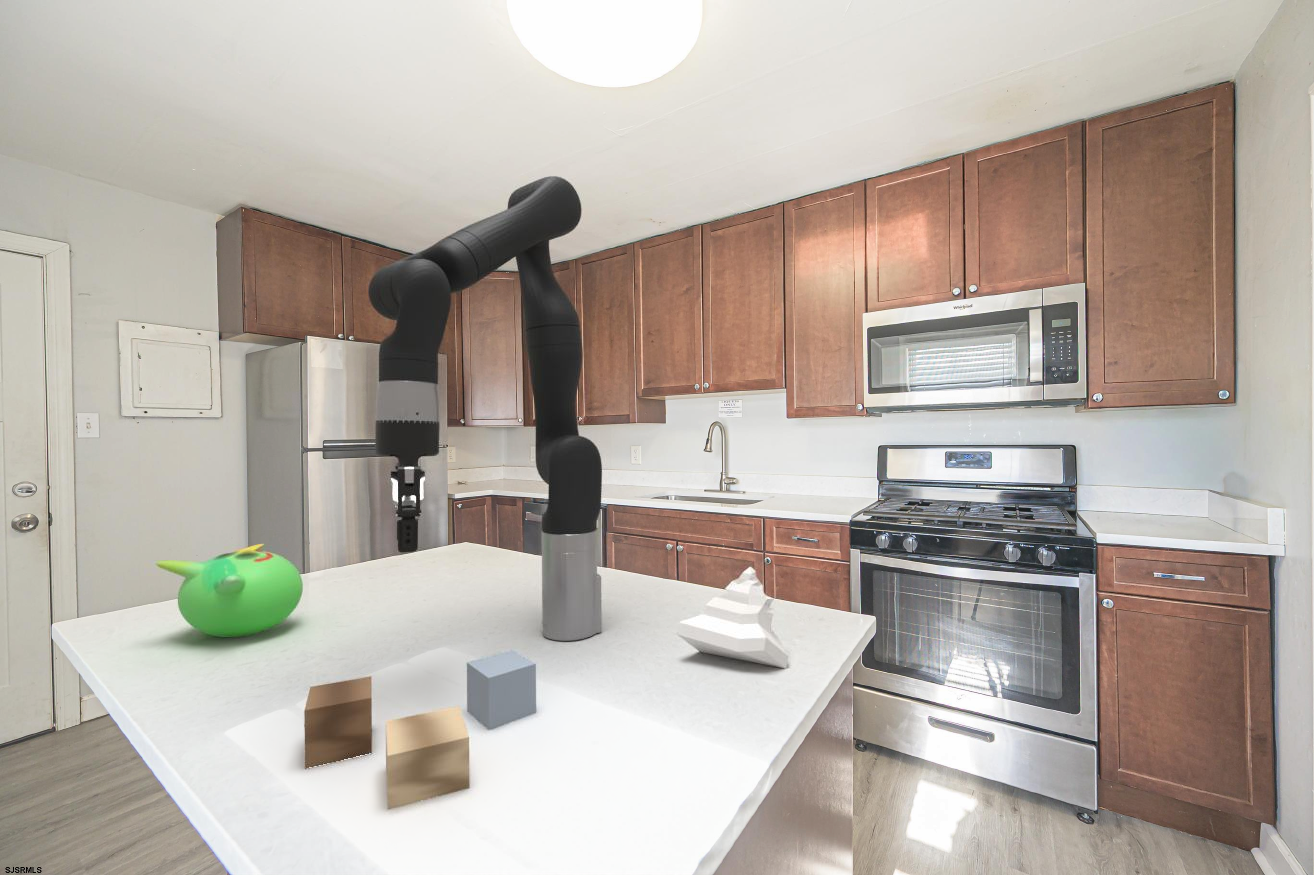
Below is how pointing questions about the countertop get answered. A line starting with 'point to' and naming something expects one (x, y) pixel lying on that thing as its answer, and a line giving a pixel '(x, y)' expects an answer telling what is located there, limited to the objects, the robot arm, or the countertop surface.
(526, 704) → the slate block
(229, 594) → the toy bird
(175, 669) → the countertop surface
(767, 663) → the white seashell
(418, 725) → the oak base block
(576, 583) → the robot arm
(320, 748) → the walnut block
